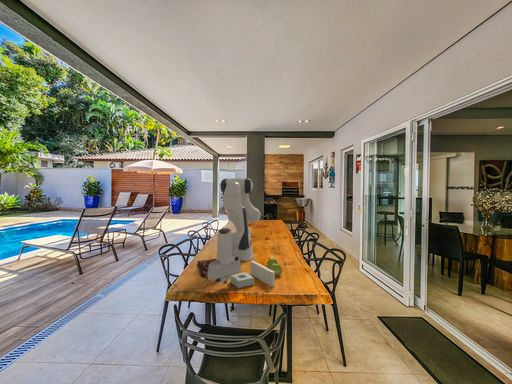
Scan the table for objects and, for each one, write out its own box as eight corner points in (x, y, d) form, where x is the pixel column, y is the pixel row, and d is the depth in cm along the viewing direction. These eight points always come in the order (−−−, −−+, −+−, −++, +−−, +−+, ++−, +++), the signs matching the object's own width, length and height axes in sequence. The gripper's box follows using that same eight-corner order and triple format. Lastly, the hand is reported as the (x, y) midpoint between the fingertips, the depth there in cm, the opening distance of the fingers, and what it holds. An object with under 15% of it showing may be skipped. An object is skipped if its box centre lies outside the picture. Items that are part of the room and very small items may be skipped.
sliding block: (230, 282, 146) (230, 275, 145) (245, 278, 151) (245, 272, 151) (238, 288, 137) (238, 280, 137) (253, 284, 142) (254, 277, 142)
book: (197, 265, 180) (197, 258, 179) (226, 261, 186) (226, 255, 186) (202, 279, 153) (201, 271, 153) (236, 275, 159) (235, 267, 159)
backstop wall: (250, 273, 160) (250, 261, 160) (253, 273, 161) (253, 260, 161) (271, 286, 140) (271, 272, 140) (274, 286, 141) (274, 271, 141)
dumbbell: (266, 268, 172) (266, 257, 171) (277, 268, 172) (277, 257, 172) (270, 277, 155) (270, 265, 155) (282, 276, 156) (283, 265, 156)
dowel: (215, 280, 149) (215, 268, 149) (220, 279, 150) (220, 267, 150) (217, 281, 146) (217, 269, 146) (222, 280, 148) (222, 269, 148)
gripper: (211, 264, 128) (211, 290, 129) (242, 256, 143) (242, 280, 143) (205, 261, 133) (205, 287, 133) (235, 254, 147) (235, 277, 148)
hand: (224, 283), depth 138 cm, fingers closed
